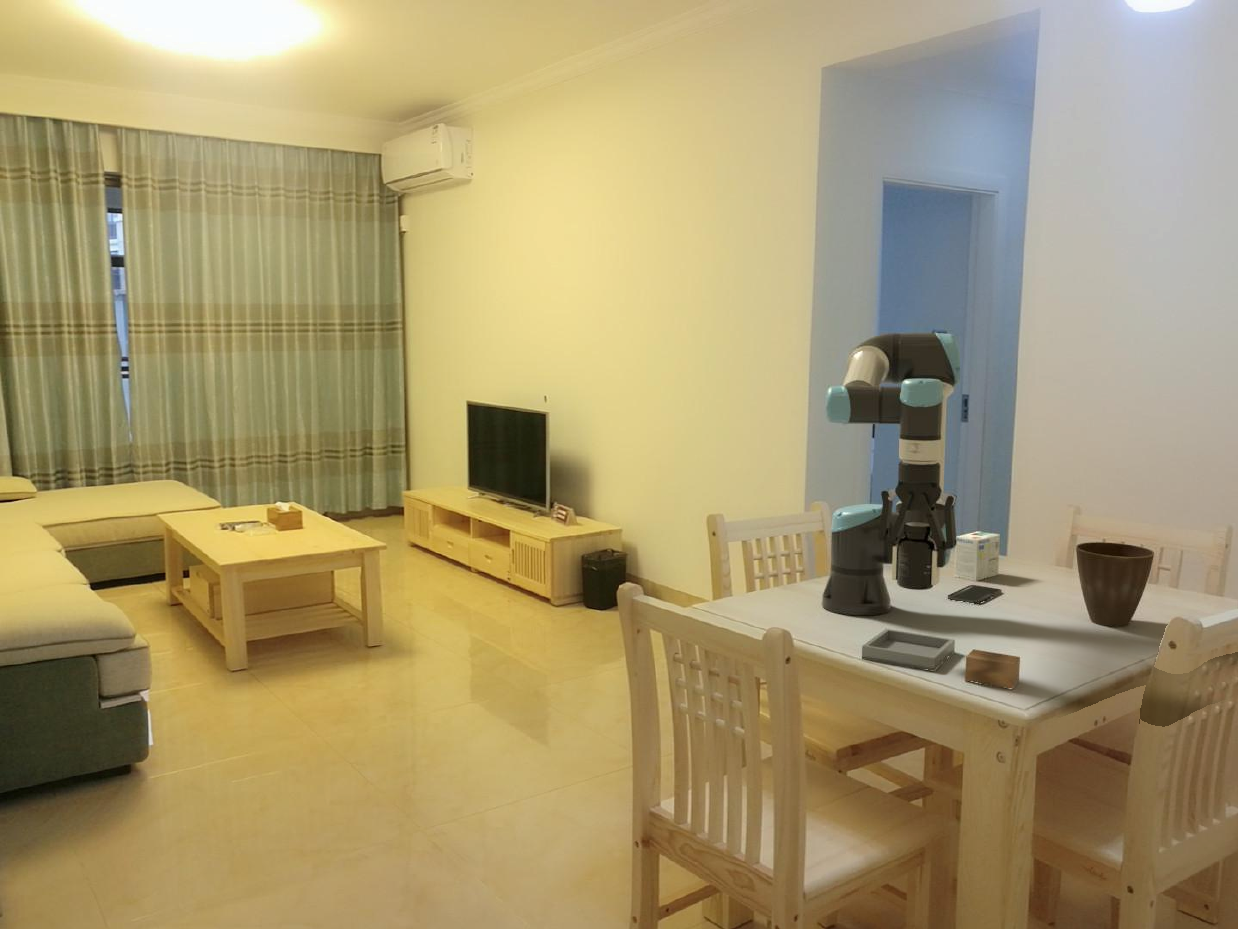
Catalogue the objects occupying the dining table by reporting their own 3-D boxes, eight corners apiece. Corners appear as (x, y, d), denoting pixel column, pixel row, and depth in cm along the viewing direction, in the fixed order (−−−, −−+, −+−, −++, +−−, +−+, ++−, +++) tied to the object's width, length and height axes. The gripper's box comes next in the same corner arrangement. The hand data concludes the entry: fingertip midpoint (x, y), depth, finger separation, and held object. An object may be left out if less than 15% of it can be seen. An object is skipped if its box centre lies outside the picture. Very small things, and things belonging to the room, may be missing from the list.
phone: (945, 596, 232) (971, 584, 243) (945, 601, 232) (971, 588, 243) (979, 602, 226) (1003, 589, 238) (978, 606, 227) (1003, 594, 238)
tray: (861, 658, 189) (862, 645, 188) (885, 640, 200) (886, 628, 200) (933, 671, 181) (934, 658, 181) (954, 652, 192) (954, 639, 192)
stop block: (965, 681, 176) (966, 656, 175) (972, 673, 180) (973, 649, 179) (1012, 689, 171) (1013, 664, 171) (1018, 681, 176) (1019, 657, 175)
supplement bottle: (936, 591, 185) (938, 528, 183) (898, 590, 186) (900, 527, 184) (931, 582, 191) (933, 521, 190) (895, 581, 193) (896, 520, 191)
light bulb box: (975, 570, 261) (977, 530, 259) (999, 575, 256) (1001, 534, 254) (952, 576, 254) (954, 535, 253) (976, 581, 249) (978, 539, 247)
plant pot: (1153, 619, 214) (1158, 547, 212) (1145, 636, 202) (1149, 559, 200) (1078, 609, 223) (1082, 539, 221) (1066, 625, 210) (1069, 551, 208)
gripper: (861, 460, 188) (858, 578, 191) (968, 467, 177) (963, 592, 180) (874, 456, 194) (871, 570, 197) (978, 462, 183) (973, 583, 186)
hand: (915, 580), depth 189 cm, fingers closed on supplement bottle, 7 cm apart
